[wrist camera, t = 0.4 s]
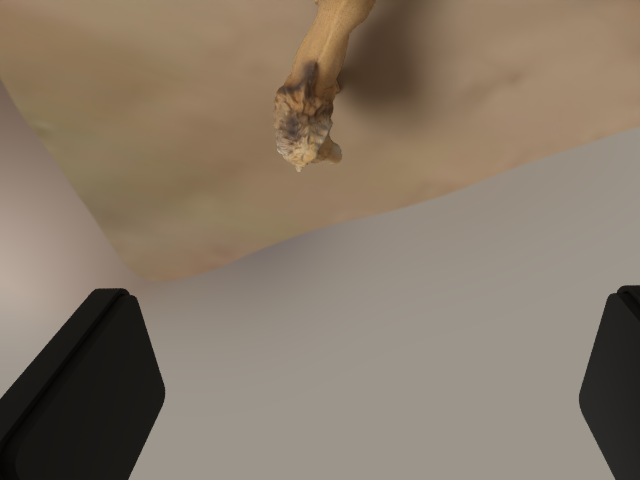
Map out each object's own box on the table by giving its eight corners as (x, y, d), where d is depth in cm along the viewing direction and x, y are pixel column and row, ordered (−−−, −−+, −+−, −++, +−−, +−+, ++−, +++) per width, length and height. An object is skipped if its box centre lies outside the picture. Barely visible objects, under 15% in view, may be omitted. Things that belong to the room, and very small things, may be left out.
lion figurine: (341, 145, 38) (335, 188, 30) (277, 128, 38) (255, 168, 30) (396, -65, 31) (408, -79, 23) (318, -86, 31) (303, -108, 23)
